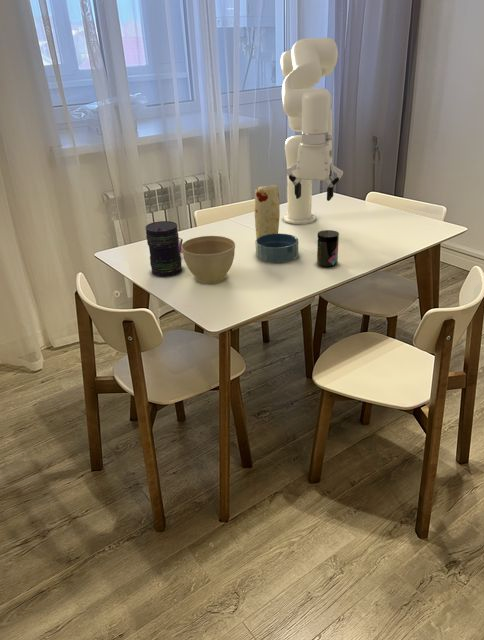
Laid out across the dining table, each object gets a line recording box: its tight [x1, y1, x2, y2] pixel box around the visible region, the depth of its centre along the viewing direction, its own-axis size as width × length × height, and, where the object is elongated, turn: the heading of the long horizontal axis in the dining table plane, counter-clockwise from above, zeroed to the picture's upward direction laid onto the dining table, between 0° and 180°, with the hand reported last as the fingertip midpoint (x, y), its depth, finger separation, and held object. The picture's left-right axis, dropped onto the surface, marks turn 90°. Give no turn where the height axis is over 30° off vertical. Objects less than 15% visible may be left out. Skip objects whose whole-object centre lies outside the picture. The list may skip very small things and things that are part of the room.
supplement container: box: [316, 229, 340, 269], centre depth 170 cm, size 7×7×10 cm
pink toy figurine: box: [178, 236, 183, 254], centre depth 185 cm, size 7×5×9 cm
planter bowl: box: [181, 235, 236, 284], centre depth 164 cm, size 16×16×11 cm
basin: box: [255, 232, 299, 264], centre depth 180 cm, size 14×14×6 cm
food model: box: [254, 184, 281, 240], centre depth 189 cm, size 10×7×20 cm
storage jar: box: [145, 220, 183, 278], centre depth 169 cm, size 10×10×15 cm
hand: (313, 198), depth 163 cm, fingers open, 9 cm apart
